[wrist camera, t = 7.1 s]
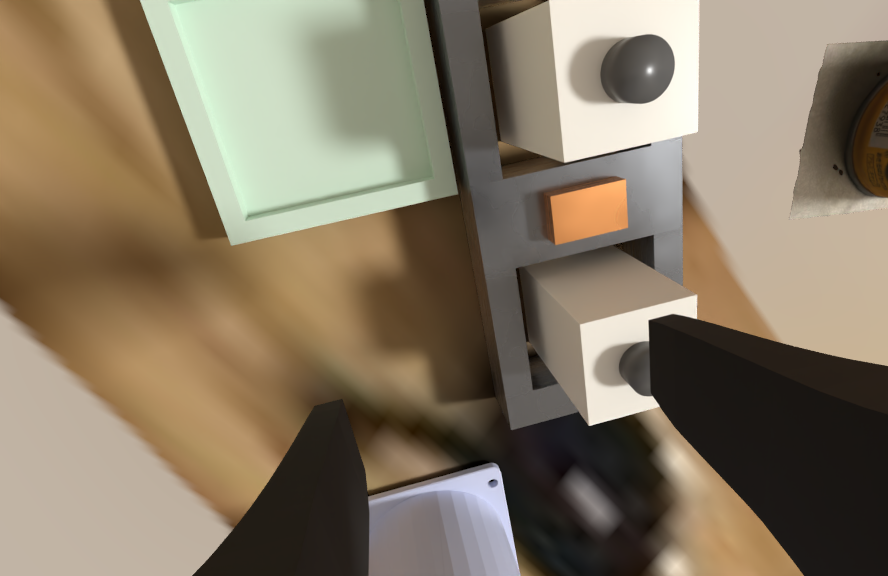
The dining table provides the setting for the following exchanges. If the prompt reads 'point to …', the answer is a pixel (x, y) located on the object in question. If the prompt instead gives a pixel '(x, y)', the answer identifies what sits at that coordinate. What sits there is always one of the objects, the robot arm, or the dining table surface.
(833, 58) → the condiment
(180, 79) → the tray
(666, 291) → the pull-out knob drawer
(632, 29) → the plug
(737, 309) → the dining table surface
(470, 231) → the small drawer cabinet
